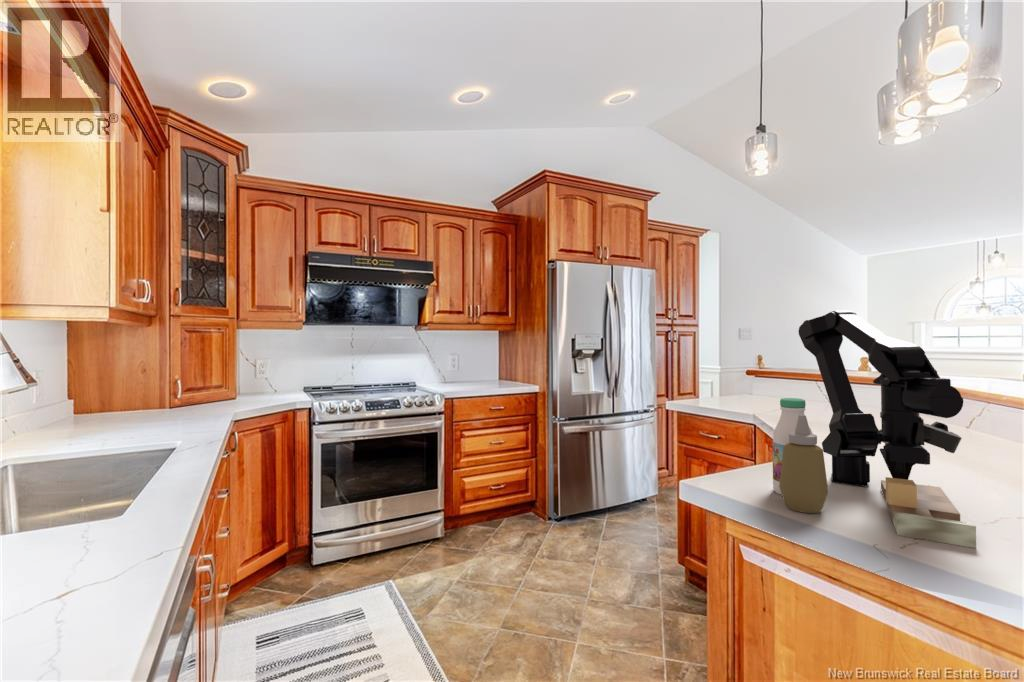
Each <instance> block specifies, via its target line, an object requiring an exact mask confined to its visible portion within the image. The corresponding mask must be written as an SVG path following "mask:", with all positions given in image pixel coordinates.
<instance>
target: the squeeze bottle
mask: <svg viewBox="0 0 1024 682" xmlns="http://www.w3.org/2000/svg"><path fill="white" fill-rule="evenodd" d="M809 427H810V426H809V423H808V419H807V415H806V414H804V415H799V417H798V421H797V425H796V429H795V432H791V433H789V442H790V443H787V444H786V445H784V446H783V455H782V465H781V475H780V484H779V488H780V490H781V493H782V495H781V497H782V498H783V501H784V504H785V507H787V508H789V509H790V510H793V511H796V512H800V513H807V514H815V513H816V514H817V513H821V512H822V511H823V508H824V505H825V503H826V500H827V497H828V495H829V487H828V481H827V471H826V463H825V457H824V456H825V455H824V451H823V448H821V447H820V446H819V445H817V444H818V436H817V435H816V434H814V433H812V434H811V433H810V429H811V428H810V429H809Z"/></svg>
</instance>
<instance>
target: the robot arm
mask: <svg viewBox="0 0 1024 682" xmlns="http://www.w3.org/2000/svg"><path fill="white" fill-rule="evenodd" d="M843 336H844V337H845V338H846V339H848V340H849V341H850V342H852V344H854V345H856V346H857V347H858V348H860V349H861V350H863V352H865V353H866V354H867V356H868V357H867V358H868V359H867V360H868V362H869V364H870V365H872V367H873V368H874V369H875V370H876V372H878V373H879V374H880V375H879V376H877V377H876V378H874V380H873V381H872V383H873V384H874V385H880V398H881V401H880V404H881V405H880V407H881V408H880V409H881V411H880V412H879V415H880V416H879V417H880V419H881V429H879V428H878V426H877V424H876V421H875V416H874V415H873V414H872V413H864V411H862V410H861V409H860V408H859V405H858V402H857V400H856V396H855V394H854V390H853V388H852V385H851V382H850V379H849V375H848V374H847V370H846V368H845V365H844V361H843V359H842V356H841V355H842V354H841V352H840V348H841V347H842V343H843V340H844V337H843ZM798 337H799V338H800V340H801V343H802V344H803V346H804V348H805V349H806V350H807V351H808V352H810V353H811V354H812V355H813V356H814V357H815V360H816V362H817V366H818V369H819V372H820V375H821V378H822V381H823V386H824V388H825V391H826V395H827V398H828V401H829V403H830V407H831V410H832V416H831V418H830V422H829V424H828V427H829V433H828V434H827V436H825V438H824V439H823V441H822V442H821V447H822V449H823V453H825V454H828V455H830V456H831V483H834V484H841V485H848V486H849V485H850V486H857V487H864V488H865V487H866V488H868V487H869V485H868V483H869V484H870V482H871V471H870V470H871V468H870V467H871V465H870V462H869V461H868V460H867V457H875V456H876V453H877V450H878V446H879V445H881V444H882V443H884V445H883V446H882V447H883V448H879V452H880V454H881V456H882V458H883V461H884V463H885V464H886V467H887V469H888V471H889V473H890V475H891V478H898V479H907V480H909V478H910V475H911V472H912V469H913V467H914V466H915V465H925V466H927V465H931V453H930V452H928V450H927V449H926V448H925V447H923V446H925V443H926V444H928V445H932V446H934V447H938V448H940V449H943V450H944V451H945V452H948V453H950V454H955V452H956V451H957V449H958V447H959V444H960V442H961V440H962V439H963V438H962V437H961V436H960V435H959V434H956V433H954V432H952V431H949V427H948V425H947V424H946V423H943V422H940V421H934V422H933V423H931V424H929V423H925V421H924V418H922V417H921V416H920V414H922V415H927V416H934V417H938V418H942V419H948V418H953V417H955V416H957V415H958V414H959V413H960V412H961V410H962V409H963V406H964V397H962V395H961V393H960V391H959V390H958V389H957V388H956V387H954V386H952V384H951V383H952V381H951V379H950V378H946V377H945V378H944V377H943V378H941V377H940V376H939V373H938V371H937V369H935V368H934V366H933V365H932V363H931V361H930V360H929V358H928V357H927V355H926V352H925V351H924V348H922V347H921V346H919V345H917V344H914V343H912V342H909V341H907V340H902V339H898V338H894V337H890V336H889V335H887V334H885V333H884V332H882V331H881V330H879V329H878V328H876V327H874V326H873V325H871V323H869V322H867V321H865V320H864V319H862V318H861V317H860V316H858V315H857V313H856V312H855V311H852V310H834V311H831V312H830V311H829V312H828V313H825V314H824V315H821V316H817V317H814V318H811V319H806V320H804V321H803V323H802V324H801V325H800V326H799V327H798Z"/></svg>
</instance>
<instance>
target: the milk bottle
mask: <svg viewBox="0 0 1024 682" xmlns="http://www.w3.org/2000/svg"><path fill="white" fill-rule="evenodd" d="M779 405H780V410H781V414H780V417H779V420H778V422H777V423H776V426H775V428H774V431H773V436H772V486H773V487H772V489H773V492H775V493H776V494H778V495H780V496H782V493H781V490H780V488H779V484H780V475H781V465H782V455H783V446H784V445H786V444H787V443H790V442H789V433H791V432H795V429H796V425H797V421H798V417H799V415H805V411H806V400H805V399H802V398H797V397H795V398H794V397H787V398H785V397H783V398H780V400H779ZM809 429H810V433H811V434H813V431H812V429H811V428H810V426H809Z"/></svg>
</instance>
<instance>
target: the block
mask: <svg viewBox="0 0 1024 682" xmlns="http://www.w3.org/2000/svg"><path fill="white" fill-rule="evenodd" d="M885 481H886V499H885V500H886V503H887V502H888V504H889V505H896V506H904V507H911V508H917V486H916V484H917V483H915V481H914V480H912V479H908V480H907V479H898V478H892V477H887V476H885Z"/></svg>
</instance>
